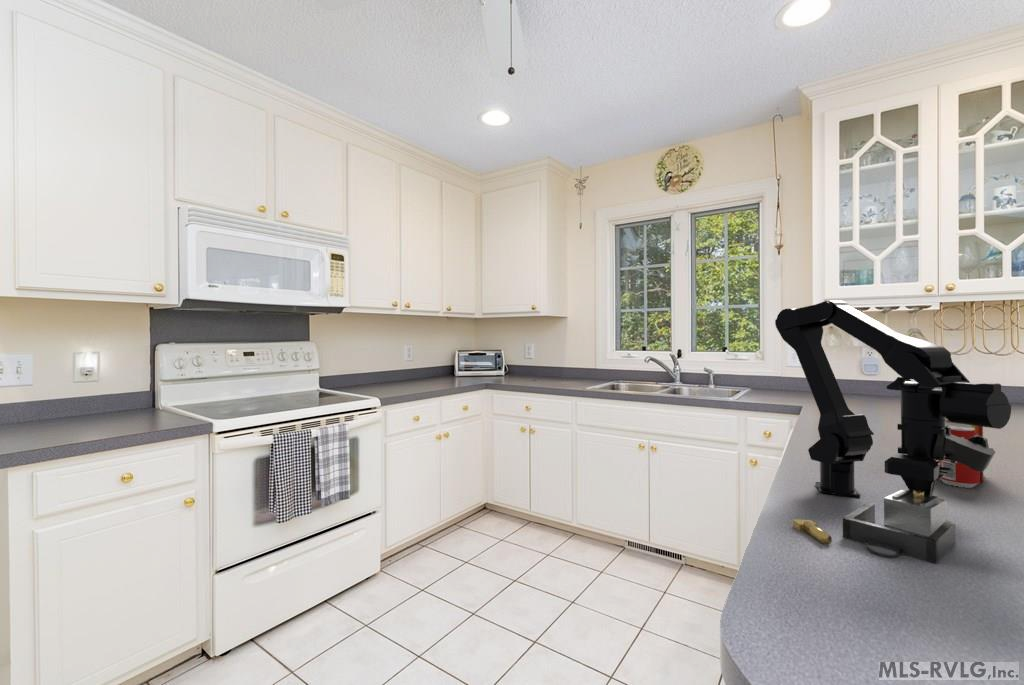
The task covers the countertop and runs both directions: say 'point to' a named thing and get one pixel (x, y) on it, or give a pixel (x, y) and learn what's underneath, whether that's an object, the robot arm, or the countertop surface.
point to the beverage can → (960, 472)
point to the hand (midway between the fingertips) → (923, 509)
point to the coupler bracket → (896, 537)
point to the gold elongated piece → (812, 530)
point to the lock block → (914, 512)
